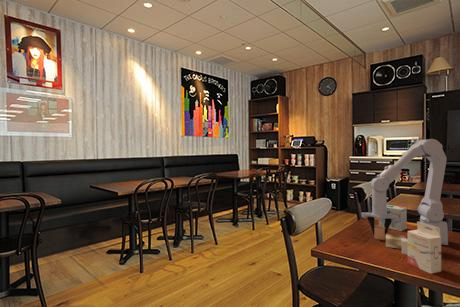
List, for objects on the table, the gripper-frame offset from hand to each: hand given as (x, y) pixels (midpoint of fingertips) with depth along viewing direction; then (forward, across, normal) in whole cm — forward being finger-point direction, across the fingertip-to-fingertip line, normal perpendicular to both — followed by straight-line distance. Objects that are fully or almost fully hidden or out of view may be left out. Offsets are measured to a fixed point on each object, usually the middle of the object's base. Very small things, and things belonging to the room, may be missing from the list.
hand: (379, 234), depth 120 cm
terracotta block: (+2, 0, 0) cm, 2 cm away
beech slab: (+2, +6, -7) cm, 9 cm away
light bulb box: (+2, +5, +20) cm, 21 cm away
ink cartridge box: (+2, +14, -26) cm, 30 cm away
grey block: (+2, +10, -14) cm, 17 cm away
